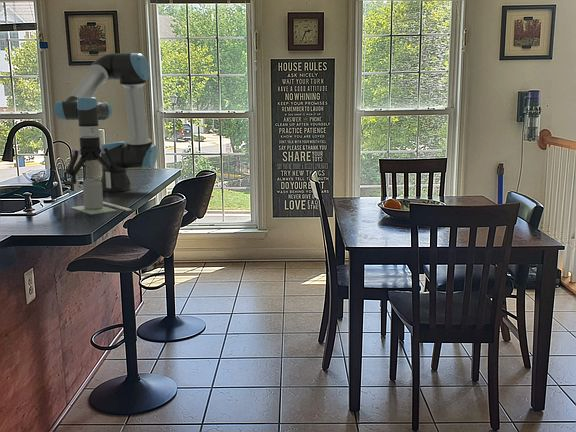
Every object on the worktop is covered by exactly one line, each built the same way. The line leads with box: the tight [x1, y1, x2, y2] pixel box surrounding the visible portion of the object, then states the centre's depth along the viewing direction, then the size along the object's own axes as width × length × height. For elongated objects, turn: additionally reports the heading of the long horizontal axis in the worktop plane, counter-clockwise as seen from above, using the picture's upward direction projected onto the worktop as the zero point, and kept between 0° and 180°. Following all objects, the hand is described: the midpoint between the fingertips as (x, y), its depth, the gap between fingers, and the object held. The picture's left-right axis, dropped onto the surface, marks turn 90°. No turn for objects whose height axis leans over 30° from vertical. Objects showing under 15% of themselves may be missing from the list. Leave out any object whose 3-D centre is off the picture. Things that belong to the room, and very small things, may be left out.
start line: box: [103, 201, 133, 212], centre depth 249 cm, size 2×24×1 cm, turn 43°
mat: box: [70, 205, 118, 215], centre depth 243 cm, size 11×18×1 cm, turn 43°
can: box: [82, 178, 104, 210], centre depth 242 cm, size 8×8×12 cm
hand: (93, 189), depth 242 cm, fingers open, 13 cm apart
